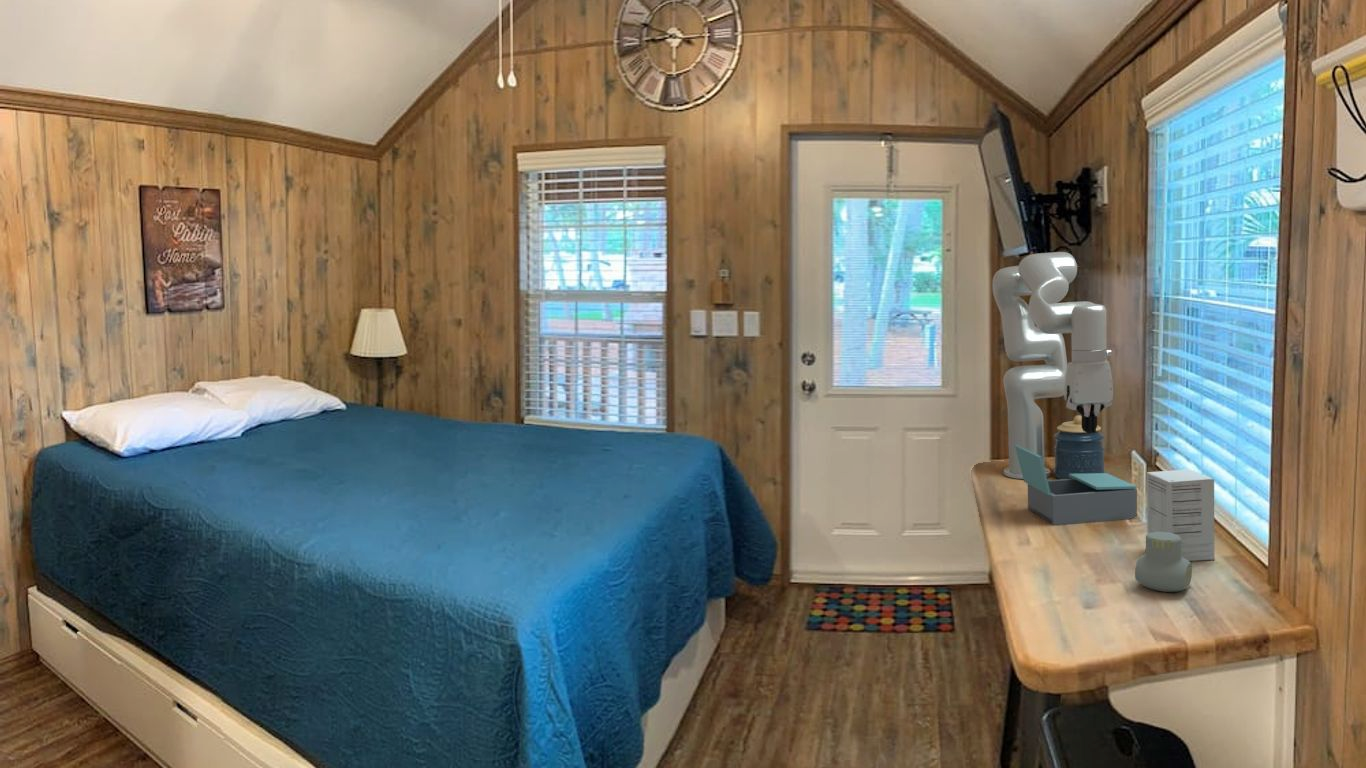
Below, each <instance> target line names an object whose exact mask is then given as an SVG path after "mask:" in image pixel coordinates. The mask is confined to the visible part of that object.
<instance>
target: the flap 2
mask: <svg viewBox="0 0 1366 768" xmlns="http://www.w3.org/2000/svg"><path fill="white" fill-rule="evenodd" d="M1069 476H1070V477H1072V478H1074V479H1076V480H1078V481H1080V482H1082V483H1084V484H1086V485H1088V486H1090V487H1092V488H1094V489H1096V490H1101V489H1137V488H1138V487H1137V485H1134V484H1132V483H1130V482H1128V481H1126V480H1123V479H1121V478H1118V477H1117V476H1114V475H1112V474H1110V473H1107V472H1105V473H1088V474H1069Z"/></svg>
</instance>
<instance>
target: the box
mask: <svg viewBox="0 0 1366 768" xmlns="http://www.w3.org/2000/svg"><path fill="white" fill-rule="evenodd" d="M1047 480H1048V479H1047ZM1048 484H1049V488H1050V492H1051V495H1047V494H1045V493H1044V492H1042V491H1040V490H1038V489H1036V488H1035V487H1033V486H1031V485H1029V484H1027V509H1028V510H1029V511H1030V512H1031V513H1034V514H1036V516H1038V517H1040V518H1042V519H1043V520H1044V521H1046V522H1048V523H1049V524H1051V525H1052V526H1059V525H1060V526H1061V525H1074V524H1075V525H1076V524H1083V523H1082V522H1087V523H1095V522H1094V521H1099V522H1109V521H1110V522H1111V521H1121V520H1132V519H1131V518H1135V517H1137V518H1138V490H1137V488H1136V489H1101V490H1096V489H1094V488H1092V487H1090V486H1088V485H1086V484H1084V483H1082V482H1080V481H1078V480H1076V479H1074V478H1073V479H1049V480H1048ZM1135 519H1136V518H1135Z"/></svg>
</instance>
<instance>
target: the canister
mask: <svg viewBox="0 0 1366 768" xmlns="http://www.w3.org/2000/svg"><path fill="white" fill-rule="evenodd" d="M1056 430H1057V431H1058V432H1056V433H1055V434H1054V435H1053V438H1054V439H1055V445H1054V447H1053V449H1054V467H1053V468H1054V474H1055V477H1056V478H1057V479H1058V480H1060V479H1073V478H1072V477H1070V476H1069V474H1088V473H1106V469H1105V449H1106V447H1105V446H1104V443H1103V441H1104V439H1105V435H1104V434H1103V433H1101V430H1102V427H1101V426H1100V425H1098V424H1097V428H1096V433H1092V432H1091V433H1087V432H1085V431H1083V429H1082V415H1080V414H1078V415H1075V416H1074V417H1073V420H1072V421H1070V420H1069V421H1065V422H1062V423H1061V424H1060V425H1058V426H1056Z"/></svg>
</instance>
